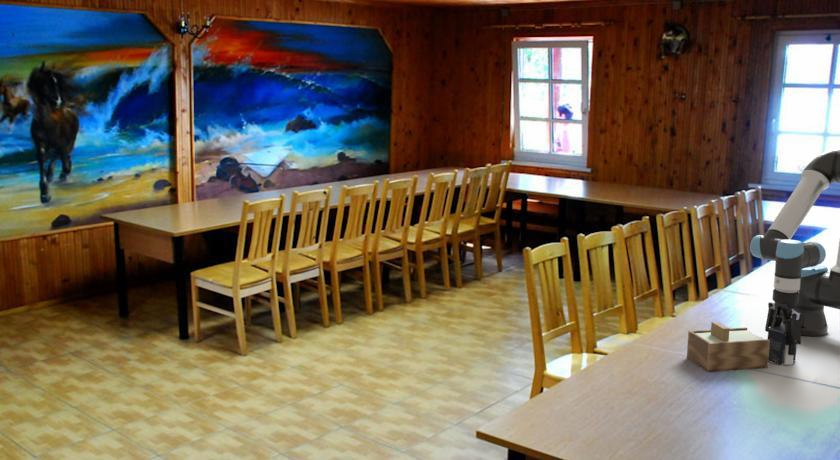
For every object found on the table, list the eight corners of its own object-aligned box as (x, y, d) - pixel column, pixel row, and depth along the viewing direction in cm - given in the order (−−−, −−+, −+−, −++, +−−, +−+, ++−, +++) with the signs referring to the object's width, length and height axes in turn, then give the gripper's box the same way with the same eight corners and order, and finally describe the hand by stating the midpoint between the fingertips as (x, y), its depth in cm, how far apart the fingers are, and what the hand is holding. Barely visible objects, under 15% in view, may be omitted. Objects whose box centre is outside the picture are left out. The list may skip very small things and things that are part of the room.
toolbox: (744, 354, 262) (746, 327, 260) (767, 368, 249) (770, 340, 248) (686, 357, 258) (688, 330, 257) (707, 372, 246) (709, 343, 244)
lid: (747, 332, 259) (748, 317, 258) (766, 343, 249) (768, 328, 248) (692, 336, 256) (693, 321, 255) (710, 347, 246) (711, 331, 245)
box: (781, 365, 252) (784, 332, 250) (764, 360, 256) (767, 328, 254) (796, 360, 256) (798, 328, 254) (779, 355, 260) (782, 324, 258)
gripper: (756, 282, 261) (751, 350, 265) (795, 298, 241) (789, 371, 245) (777, 281, 262) (772, 348, 266) (818, 297, 243) (811, 370, 247)
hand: (780, 359), depth 256 cm, fingers closed on box, 7 cm apart
